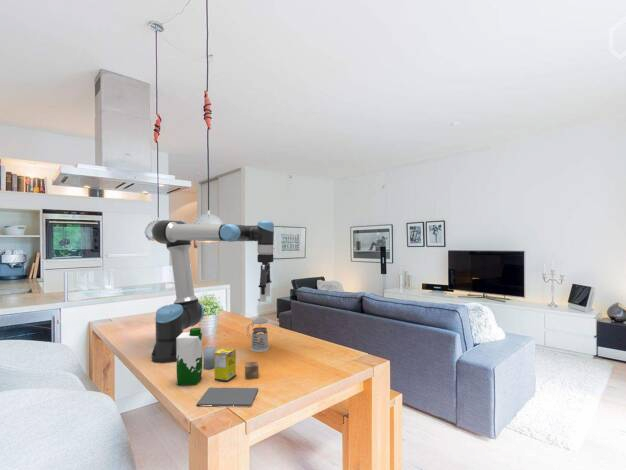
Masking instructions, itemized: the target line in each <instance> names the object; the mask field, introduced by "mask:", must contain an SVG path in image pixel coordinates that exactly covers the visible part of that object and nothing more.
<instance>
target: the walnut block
mask: <svg viewBox="0 0 626 470" xmlns="http://www.w3.org/2000/svg"><path fill="white" fill-rule="evenodd" d="M244 378H245V380H246V379H247V380H258V379H259V363H258V361H247V362H246V361H245V363H244ZM247 380H246V381H247Z"/></svg>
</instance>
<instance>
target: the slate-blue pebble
mask: <svg viewBox="0 0 626 470" xmlns="http://www.w3.org/2000/svg"><path fill="white" fill-rule="evenodd" d="M216 351H217V347H215V346H207V347H204V348H202V369H204V370H205V371H207V370H208V371H209V370H210V371H211V370H213V369H214V370H215V354H214V353H215V352H216Z"/></svg>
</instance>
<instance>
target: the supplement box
mask: <svg viewBox="0 0 626 470" xmlns="http://www.w3.org/2000/svg"><path fill="white" fill-rule="evenodd" d="M214 354H215V368H214V381H218V382H224V383H228V382H230V381H231V380H233V379H234V378H236V377H237V376H236V371H237V370H236V368H237V366H236V361H237V360H236V359H237V358H236V348H227V347H222V348H220V349H218V350H216V352H215V353H214Z"/></svg>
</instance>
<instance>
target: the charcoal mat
mask: <svg viewBox="0 0 626 470" xmlns="http://www.w3.org/2000/svg"><path fill="white" fill-rule="evenodd" d="M258 392H259V388H258V387H208V388H207V389H206V391H205V392H204V394H203V395H202V396H201V397H200V399H199V400H198V401H197V403H196V406H197V405H212V406H211V407H217V406H233V405H234V406H251V405H252V406H253V404H254V401H255V399H256V397H255V396H257V394H258ZM252 403H253V404H252ZM252 406H251V407H252Z"/></svg>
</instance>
